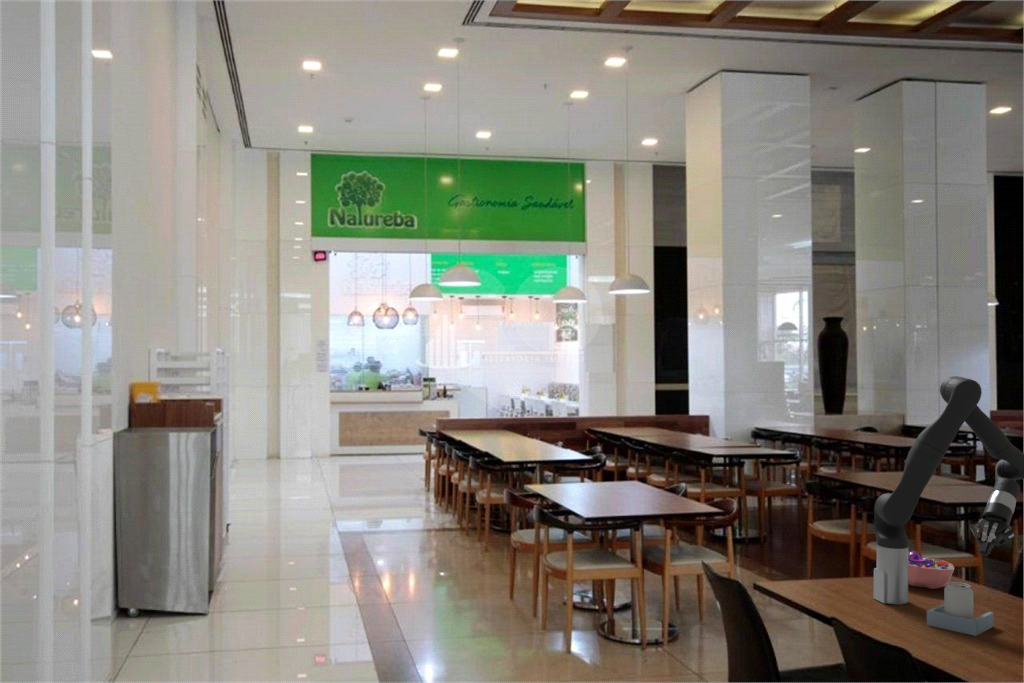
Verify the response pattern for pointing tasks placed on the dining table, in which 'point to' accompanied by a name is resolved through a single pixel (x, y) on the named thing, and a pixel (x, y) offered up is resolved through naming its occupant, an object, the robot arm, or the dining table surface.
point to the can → (958, 600)
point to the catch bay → (959, 621)
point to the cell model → (928, 571)
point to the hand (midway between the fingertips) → (983, 554)
